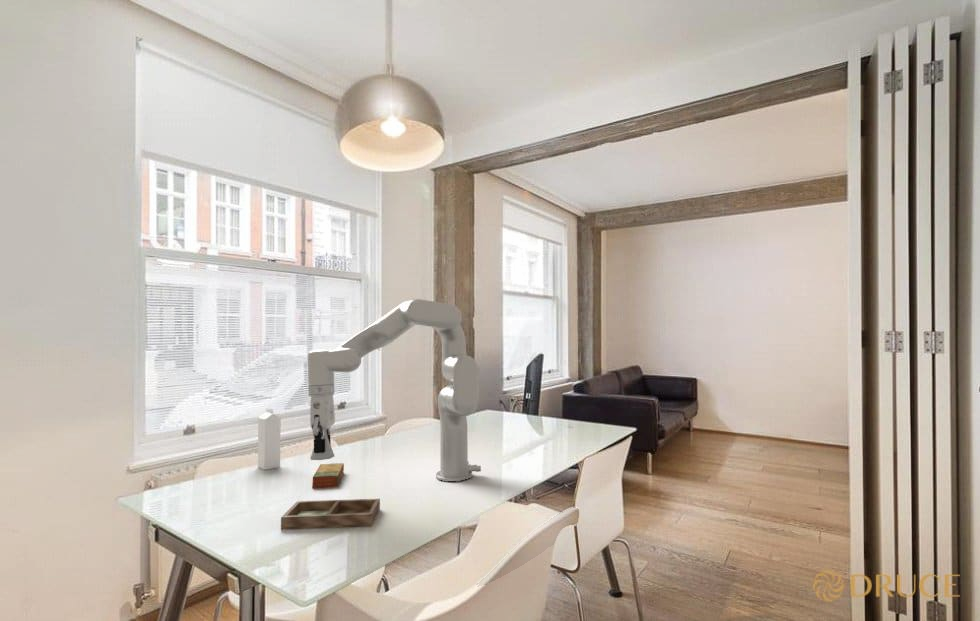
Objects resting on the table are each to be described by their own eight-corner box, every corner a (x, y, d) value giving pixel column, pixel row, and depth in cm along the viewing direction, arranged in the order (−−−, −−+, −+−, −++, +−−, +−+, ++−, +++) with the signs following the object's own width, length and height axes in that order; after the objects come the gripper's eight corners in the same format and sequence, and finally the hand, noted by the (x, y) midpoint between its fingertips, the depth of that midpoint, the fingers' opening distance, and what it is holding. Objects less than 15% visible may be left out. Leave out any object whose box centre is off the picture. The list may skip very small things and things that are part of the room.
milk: (264, 470, 179) (264, 410, 180) (257, 467, 183) (258, 409, 184) (280, 466, 183) (280, 408, 184) (273, 464, 187) (273, 407, 188)
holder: (379, 509, 136) (379, 498, 136) (371, 526, 124) (371, 514, 124) (297, 512, 135) (297, 501, 135) (280, 529, 123) (281, 517, 123)
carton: (344, 474, 173) (344, 462, 174) (338, 488, 158) (338, 474, 158) (320, 475, 172) (320, 463, 172) (311, 489, 156) (312, 476, 156)
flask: (313, 455, 149) (313, 423, 150) (337, 454, 150) (336, 422, 150) (306, 461, 142) (306, 427, 142) (331, 460, 143) (331, 426, 143)
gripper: (325, 393, 138) (327, 457, 138) (340, 386, 155) (342, 443, 155) (299, 394, 138) (300, 458, 137) (317, 387, 155) (318, 444, 154)
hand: (322, 449), depth 146 cm, fingers closed on flask, 4 cm apart
